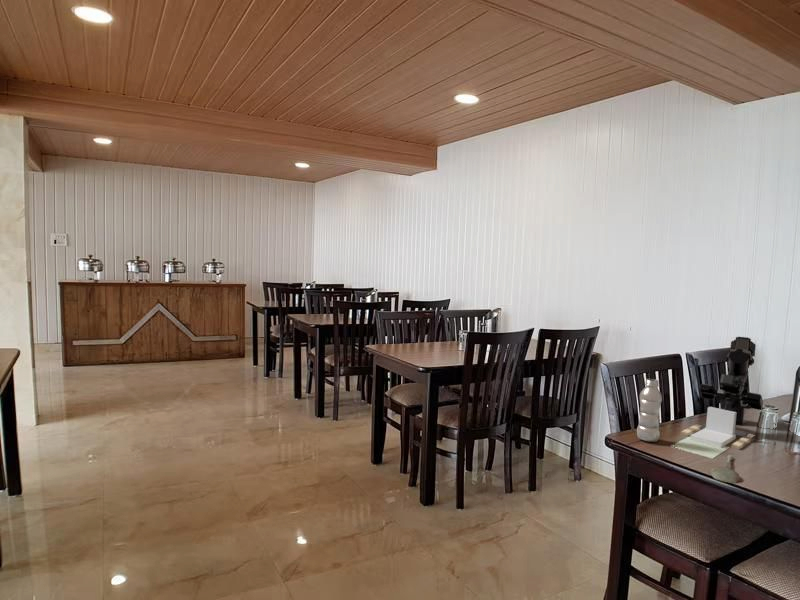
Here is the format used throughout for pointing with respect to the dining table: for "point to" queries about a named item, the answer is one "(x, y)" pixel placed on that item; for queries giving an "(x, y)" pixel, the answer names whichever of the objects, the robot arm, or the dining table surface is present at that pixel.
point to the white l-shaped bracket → (717, 428)
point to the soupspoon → (725, 472)
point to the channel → (736, 445)
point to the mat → (700, 448)
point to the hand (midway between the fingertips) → (723, 415)
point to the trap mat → (737, 432)
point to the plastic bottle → (649, 411)
